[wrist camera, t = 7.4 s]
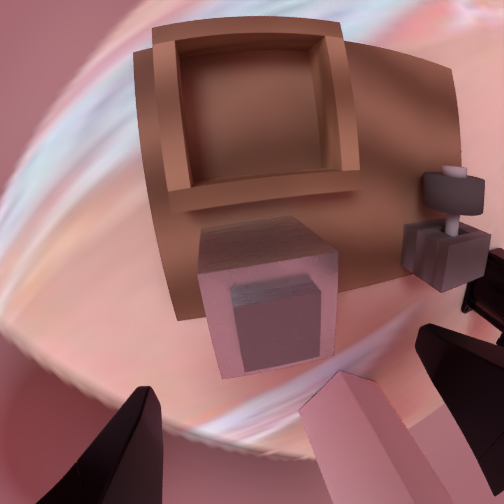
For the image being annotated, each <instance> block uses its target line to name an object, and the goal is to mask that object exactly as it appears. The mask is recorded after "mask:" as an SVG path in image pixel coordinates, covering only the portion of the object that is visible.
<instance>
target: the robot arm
mask: <svg viewBox="0 0 504 504" xmlns="http://www.w3.org/2000/svg"><path fill="white" fill-rule="evenodd" d="M471 310H474V311H475V312H476V313H478V314H479V315H480V316H482V317H483V318H484V319H486V320H487V321H488V322H490V323H491V324H492V325H493V326H495V327H496V328H497V329H499V330H500V331H501V332H502V334H501V336H500V338H498V340H497V342H496V344H497V345H495V344H492V343H488V342H485V341H482V340H479V339H476V338H473V337H470V336H467V335H464V334H461V333H458V332H455V331H452V330H449V329H446V328H443V327H440V326H437V325H434V324H431V323H429V324H426V325H423V326H421V327H420V329H419V332H418V335H417V339H416V343H415V349H416V352H417V354H418V355H419V357H420V359H421V361H422V363H423V365H424V367H425V369H426V371H427V373H428V375H429V377H430V379H431V381H432V383H433V384H434V386H435V387H436V389H437V391H438V392H439V394H440V395H441V397H442V399H443V400H444V402H445V404H446V405H447V407H448V409H449V410H450V412H451V414H452V415H453V417H454V419H455V421H456V422H457V424H458V426H459V427H460V429H461V431H462V433H463V434H464V436H465V438H466V440H467V442H468V444H469V446H470V448H471V449H472V451H473V453H474V455H475V457H476V459H477V461H478V463H479V465H480V467H481V469H482V471H483V474H484V476H485V478H486V480H487V482H488V484H489V486H490V489H491V491H492V493H493V495H494V496H497V495H498V494H500V493H501V492H502V491H504V250H503V249H502V248H496V249H493V250H491V251H489V252H488V257H487V262H486V267H485V272H484V276H482V277H480V278H477V279H475V280H472V281H470V282H469V283H468V287H467V291H466V295H465V299H464V303H463V306H462V312H463V313H464V314H465V313H467V312H469V311H471ZM162 479H163V434H162V416H161V405H160V402H159V400H158V398H157V396H156V394H155V392H154V390H153V389H152V387H150V386H139V387H137V388H136V389H135V391H134V392H133V393H132V394H131V395H130V397H129V398H128V399H127V400H126V402H125V403H124V404H123V405H122V406H121V408H120V409H119V410H118V411H117V412H116V414H115V415H114V416H113V417H112V419H111V420H110V421H109V422H108V423H107V425H106V426H105V427H104V428H103V429H102V431H101V432H100V433H99V434H98V436H97V437H96V438H95V439H94V440H93V442H92V443H91V444H90V446H89V447H88V448H87V449H86V450H85V451H84V453H83V454H82V455H81V457H79V459H78V460H77V462H76V463H74V465H73V466H72V467H71V468H70V470H69V471H68V472H67V473H66V474H65V475H64V476H63V478H62V479H61V480H60V481H59V482H58V483H57V484H56V485H55V486H54V487H53V488H52V489H51V490H50V491H49V492H48V493H47V494H46V495H44V497H42V498H41V499H40V500H39V501H38V502H37V503H36V504H162Z"/></svg>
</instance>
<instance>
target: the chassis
mask: <svg viewBox="0 0 504 504" xmlns="http://www.w3.org/2000/svg"><path fill="white" fill-rule="evenodd" d="M152 43H153V48H150V49H145V50H141V51H137V52H133V61H134V82H135V96H136V108H137V119H138V128H139V137H140V145H141V153H142V160H143V167H144V173H145V180H146V186H147V192H148V197H149V203H150V208H151V214H152V219H153V224H154V229H155V234H156V238H157V243H158V247H159V252H160V256H161V261H162V265H163V269H164V273H165V277H166V281H167V285H168V289H169V293H170V296H171V300H172V304H173V307H174V311H175V314H176V318H177V321H181V320H188V319H195V318H202V317H206V313H205V309H204V305H203V300H202V295H201V291H200V286H199V281H198V277H197V269H198V255H199V243H200V231H201V228H207V227H214V226H220V225H227V224H233V223H240V222H247V221H254V220H261V219H268V218H275V217H283V216H290V215H292V216H293V217H294V218H296V219H297V220H298V221H300V222H301V223H302V224H304V225H305V226H306V227H308V228H309V229H310V230H312V231H313V232H314V233H315V234H317V235H318V236H319V237H321V238H322V239H323V240H325V241H326V242H327V243H328V244H330V245H331V246H332V247H333V248H335V249H336V250H337V251H338V292H342V291H347V290H351V289H355V288H360V287H364V286H368V285H372V284H376V283H380V282H384V281H388V280H392V279H396V278H400V277H403V276H407V275H411V274H415V275H416V276H417V277H419V278H420V279H422V280H423V281H425V282H426V283H428V284H429V285H430V286H432V287H433V288H435V289H436V290H438V291H439V292H440V293H442V292H445V291H447V290H450V289H452V288H455V287H458V286H460V285H463V284H465V283H468V282H470V281H472V280H475V279H477V278H480V277H482V276H484V272H485V267H486V262H487V257H488V252H489V246H490V239H491V235H490V234H488V233H486V232H483V231H481V230H479V229H476V228H474V227H471V226H469V225H467V224H464V223H461V222H459V228H458V236H454V237H452V236H450V235H448V234H446V233H445V223H446V213H445V212H440V211H437V210H433V209H431V208H428V207H426V206H425V205H424V204H423V185H424V177H423V173H424V172H442V165H451V166H459V167H461V140H460V126H459V116H458V107H457V100H456V93H455V87H454V81H453V76H452V71H451V69H450V68H447V67H444V66H442V65H439V64H436V63H433V62H430V61H427V60H424V59H421V58H418V57H414V56H411V55H407V54H404V53H400V52H396V51H392V50H388V49H384V48H380V47H375V46H370V45H365V44H359V43H354V42H347V41H344V40H343V35H342V30H341V26H340V23H339V22H332V21H325V20H317V19H308V18H296V17H277V16H243V17H224V18H212V19H203V20H195V21H187V22H181V23H175V24H169V25H164V26H159V27H154V28H152Z"/></svg>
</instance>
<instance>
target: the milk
mask: <svg viewBox="0 0 504 504" xmlns="http://www.w3.org/2000/svg"><path fill="white" fill-rule="evenodd" d="M299 414H300V417H301V419H302V422H303V425H304V427H305V430H306V433H307V435H308V438H309V441H310V443H311V446H312V449H313V451H314V454H315V457H316V459H317V462H318V465H319V467H320V470H321V473H322V475H323V478H324V480H325V483H326V486H327V488H328V491H329V493H330V496H331V499H332V501H333V504H455V503H454V502H453V500H452V498H451V497H450V495H449V493H448V492H447V490H446V488H445V487H444V485H443V484H442V482H441V480H440V479H439V477H438V476H437V474H436V472H435V471H434V469H433V468H432V466H431V465H430V463H429V461H428V460H427V458H426V457H425V455H424V454H423V452H422V451H421V449H420V447H419V446H418V444H417V443H416V441H415V440H414V438H413V437H412V435H411V434H410V432H409V431H408V429H407V428H406V426H405V425H404V423H403V422H402V420H401V419H400V417H399V416H398V414H397V413H396V411H395V410H394V408H393V407H392V405H391V404H390V402H389V401H388V399H387V398H386V396H385V395H384V393H383V392H382V391H381V389H380V388H379V386H378V385H377V383H376V382H373V381H370V380H367V379H364V378H361V377H358V376H355V375H352V374H349V373H346V372H343V371H338V372H337V373H336V374H335V375H334V376H333V377H332V378H331V379H330V380H329V381H328V382H327V383H326V385H325V386H324V387H323V388H322V389H321V390H320V391H319V392H318V393H316V394H315V395H314V396H313V397H312V398H311V399H310V400H309V401H308V402H307V403H306V404H305V405H304V406H303V407H302V408H301V409H300V410H299Z"/></svg>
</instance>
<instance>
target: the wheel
mask: <svg viewBox="0 0 504 504" xmlns="http://www.w3.org/2000/svg"><path fill="white" fill-rule="evenodd" d="M423 177H424V185H423V204H424V205H425V206H426V207H428V208H431V209H433V210H437V211H440V212H445V213H446V223H445V233H446V234H448V235H450V236H452V237H454V236H458V228H459V218H460V215H468V216H474V215H481V214H482V213H483V207H484V190H485V180H483V179H481V178H477V177H473V176H468V175H467V168H465V167H459V166H451V165H442V172H424V173H423Z"/></svg>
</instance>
